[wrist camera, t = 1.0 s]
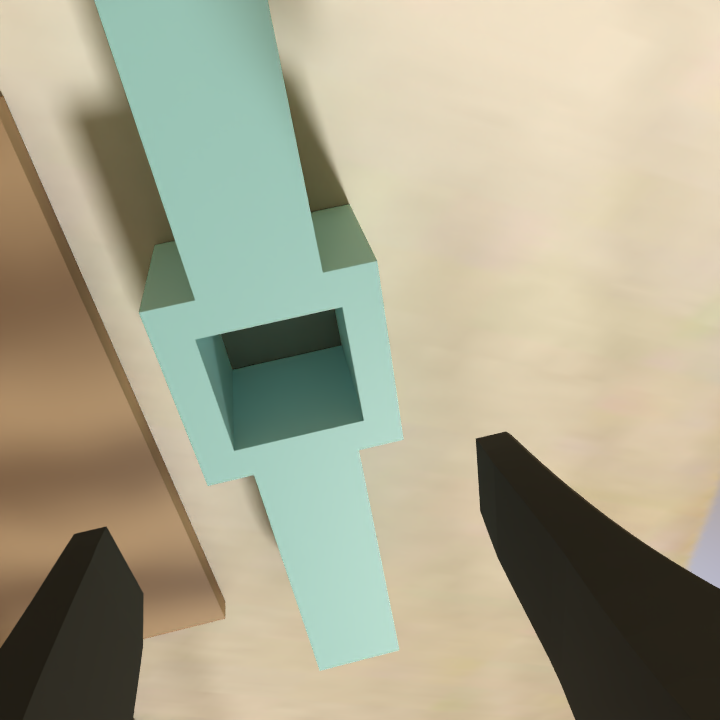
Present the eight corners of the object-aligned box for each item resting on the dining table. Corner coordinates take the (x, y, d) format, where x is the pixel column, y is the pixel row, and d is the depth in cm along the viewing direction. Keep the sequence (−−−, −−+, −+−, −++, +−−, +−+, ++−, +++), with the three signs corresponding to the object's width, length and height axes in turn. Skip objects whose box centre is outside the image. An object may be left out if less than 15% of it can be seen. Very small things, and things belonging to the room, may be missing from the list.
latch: (407, 556, 27) (433, 641, 24) (277, 588, 27) (285, 679, 23) (300, -93, 14) (323, -104, 11) (49, -48, 14) (-4, -47, 11)
